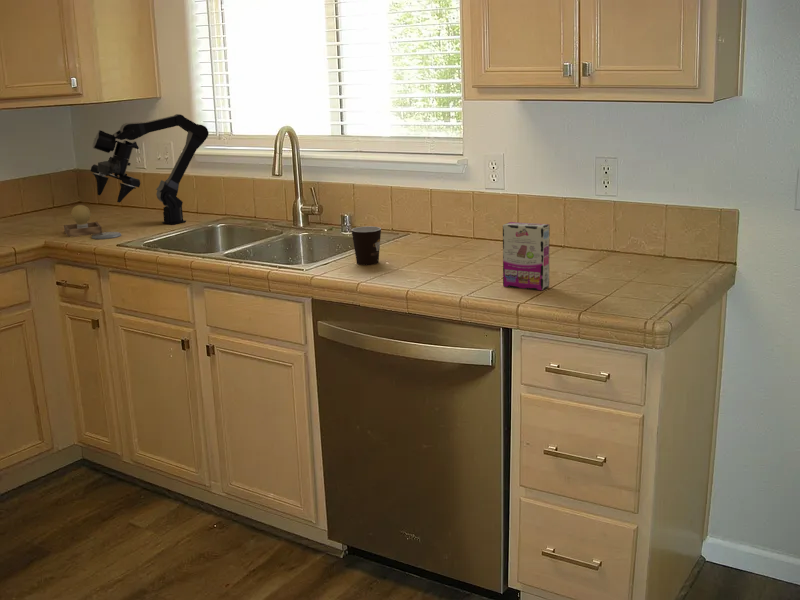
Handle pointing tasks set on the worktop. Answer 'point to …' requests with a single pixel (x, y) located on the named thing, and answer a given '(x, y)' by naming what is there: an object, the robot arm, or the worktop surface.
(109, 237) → the slate coaster
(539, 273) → the candy bar box
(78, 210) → the light bulb
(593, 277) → the worktop surface
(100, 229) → the walnut crate
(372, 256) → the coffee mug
